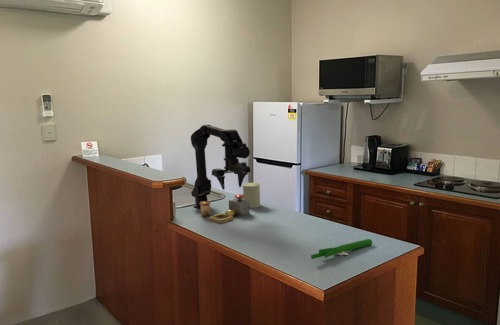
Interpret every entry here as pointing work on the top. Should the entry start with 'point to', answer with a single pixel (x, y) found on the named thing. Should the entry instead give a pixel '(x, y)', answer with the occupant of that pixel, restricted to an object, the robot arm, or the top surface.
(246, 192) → the can
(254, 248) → the top surface
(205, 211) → the stub
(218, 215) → the socket
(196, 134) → the robot arm
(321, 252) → the green onion
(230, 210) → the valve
